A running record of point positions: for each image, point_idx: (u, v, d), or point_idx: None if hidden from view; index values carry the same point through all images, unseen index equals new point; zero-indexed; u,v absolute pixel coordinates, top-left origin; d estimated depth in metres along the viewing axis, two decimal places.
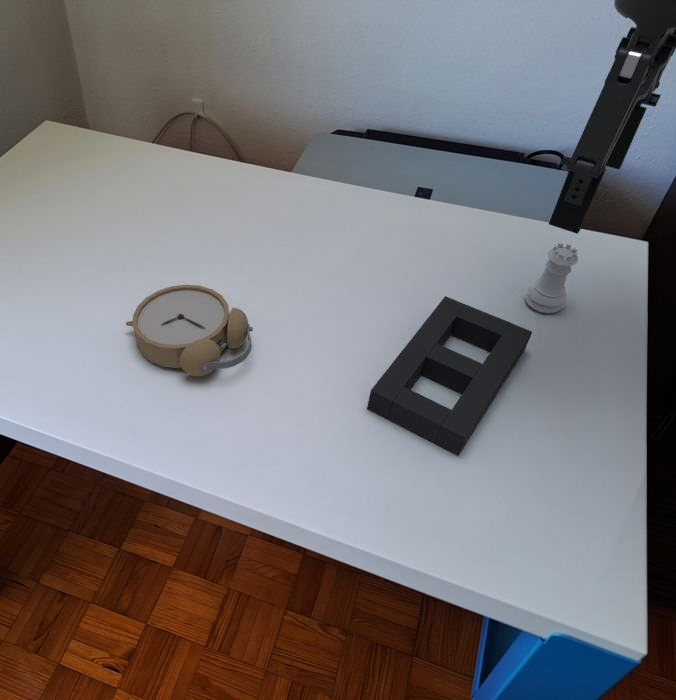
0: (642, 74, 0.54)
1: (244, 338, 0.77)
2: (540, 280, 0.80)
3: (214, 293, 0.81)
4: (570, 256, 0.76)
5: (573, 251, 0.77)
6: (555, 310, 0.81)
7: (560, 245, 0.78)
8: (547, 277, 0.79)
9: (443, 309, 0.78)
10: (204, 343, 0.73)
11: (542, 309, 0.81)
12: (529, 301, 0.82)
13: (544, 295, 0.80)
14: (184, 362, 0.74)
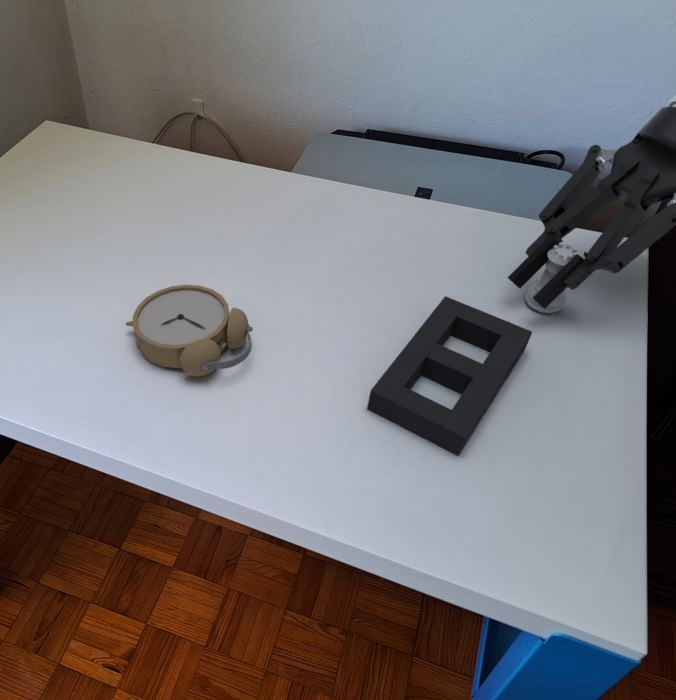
0: None
1: (244, 338, 0.77)
2: (540, 280, 0.80)
3: (214, 293, 0.81)
4: (570, 256, 0.76)
5: (573, 251, 0.77)
6: (555, 310, 0.81)
7: (560, 245, 0.78)
8: (547, 277, 0.79)
9: (443, 309, 0.78)
10: (204, 343, 0.73)
11: (542, 309, 0.81)
12: (529, 301, 0.82)
13: None
14: (184, 362, 0.74)
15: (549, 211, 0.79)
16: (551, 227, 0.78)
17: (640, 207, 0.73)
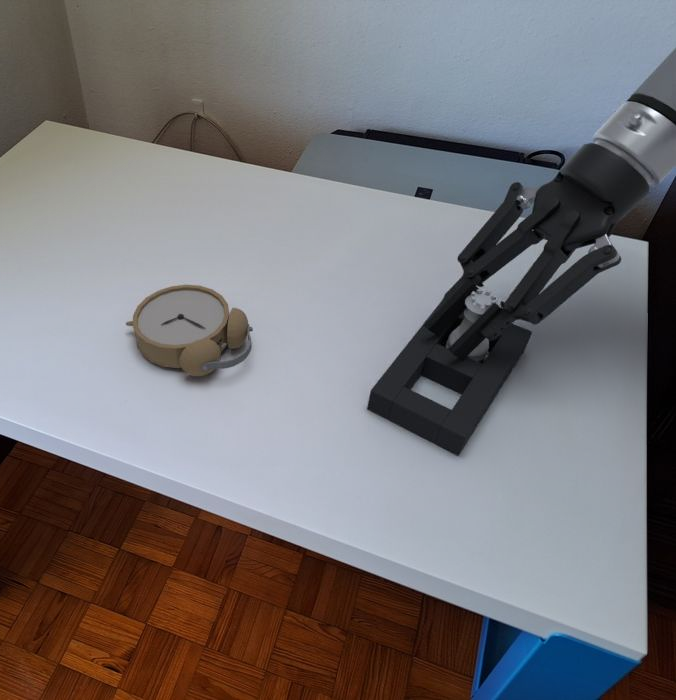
0: None
1: (244, 338, 0.77)
2: (460, 328, 0.74)
3: (214, 293, 0.81)
4: (488, 304, 0.69)
5: (492, 298, 0.70)
6: (477, 360, 0.74)
7: (479, 291, 0.71)
8: (466, 325, 0.72)
9: None
10: (204, 343, 0.73)
11: None
12: None
13: None
14: (184, 362, 0.74)
15: (468, 253, 0.72)
16: (469, 271, 0.71)
17: (561, 253, 0.67)
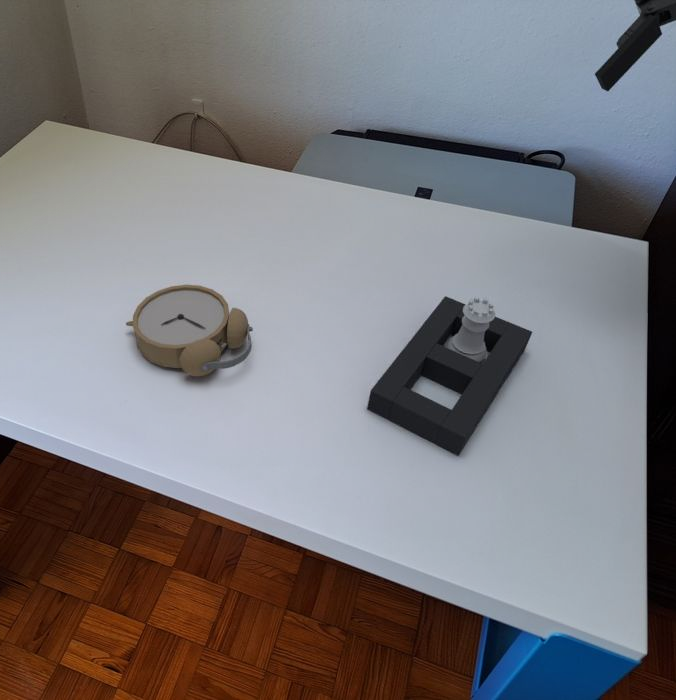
0: None
1: (244, 338, 0.77)
2: (458, 335, 0.74)
3: (214, 293, 0.81)
4: (485, 313, 0.70)
5: (490, 307, 0.71)
6: None
7: (476, 300, 0.72)
8: (464, 333, 0.73)
9: (443, 309, 0.78)
10: (204, 343, 0.73)
11: None
12: None
13: (462, 352, 0.74)
14: (184, 362, 0.74)
15: None
16: (651, 6, 0.64)
17: None
